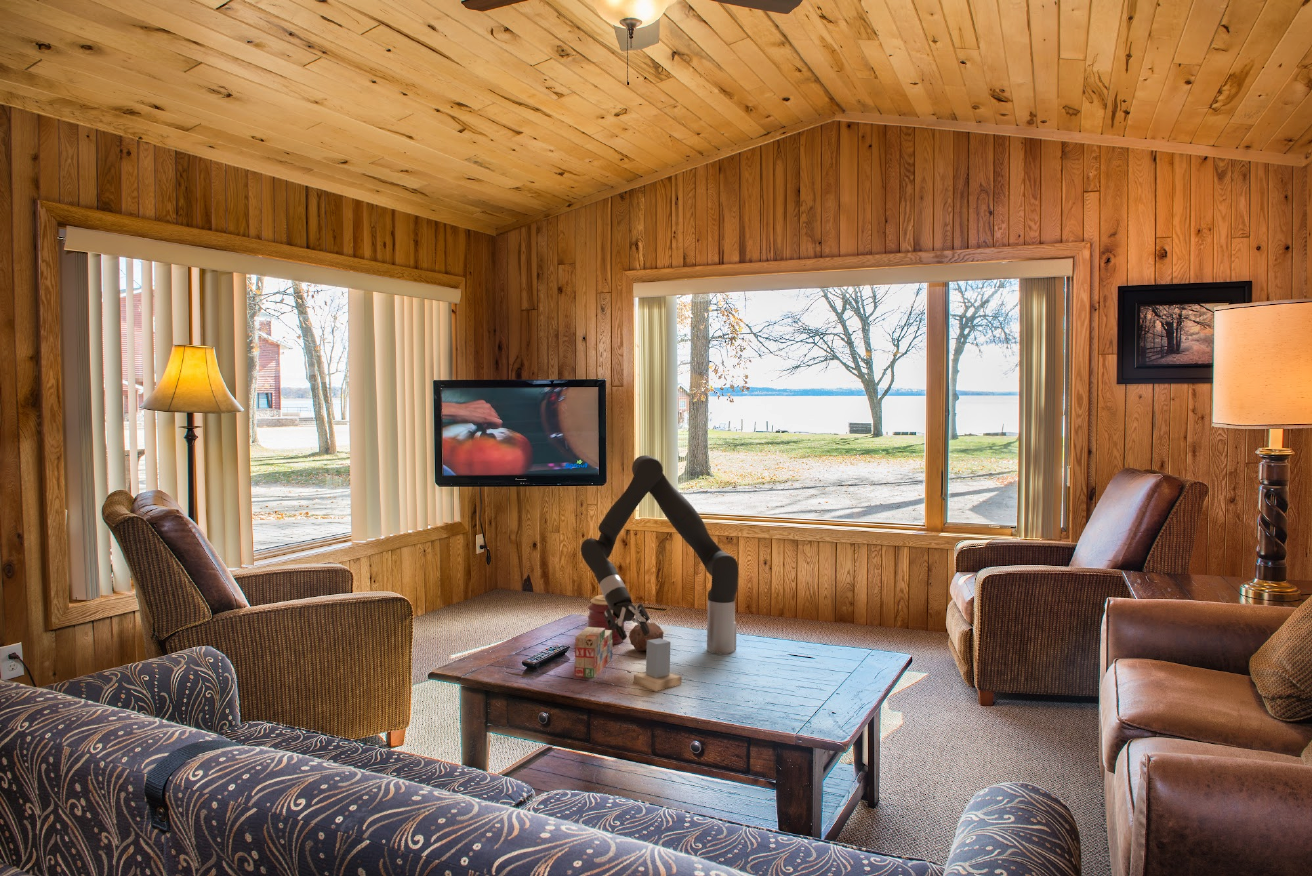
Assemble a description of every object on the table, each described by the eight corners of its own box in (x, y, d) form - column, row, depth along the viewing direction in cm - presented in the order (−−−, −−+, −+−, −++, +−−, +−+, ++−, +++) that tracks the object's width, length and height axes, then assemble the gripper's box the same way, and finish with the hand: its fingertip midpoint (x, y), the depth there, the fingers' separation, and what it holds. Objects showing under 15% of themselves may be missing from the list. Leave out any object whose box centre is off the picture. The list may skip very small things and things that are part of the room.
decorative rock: (649, 658, 272) (650, 627, 272) (621, 652, 278) (621, 622, 278) (670, 649, 283) (670, 620, 283) (642, 643, 289) (643, 615, 289)
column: (659, 671, 250) (660, 638, 250) (669, 675, 246) (670, 641, 246) (645, 673, 247) (646, 640, 247) (656, 678, 243) (656, 644, 243)
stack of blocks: (593, 657, 273) (594, 619, 272) (612, 658, 271) (613, 621, 271) (574, 676, 252) (574, 636, 251) (594, 678, 250) (594, 637, 250)
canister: (609, 647, 283) (610, 596, 283) (579, 641, 290) (580, 591, 290) (631, 639, 294) (632, 590, 294) (602, 633, 301) (602, 585, 301)
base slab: (658, 677, 254) (659, 668, 254) (681, 686, 246) (681, 676, 246) (633, 684, 247) (633, 674, 247) (655, 693, 240) (655, 682, 239)
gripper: (601, 588, 257) (622, 633, 248) (638, 583, 266) (660, 626, 257) (591, 602, 261) (612, 647, 252) (628, 596, 270) (649, 639, 261)
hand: (636, 636), depth 255 cm, fingers open, 8 cm apart
